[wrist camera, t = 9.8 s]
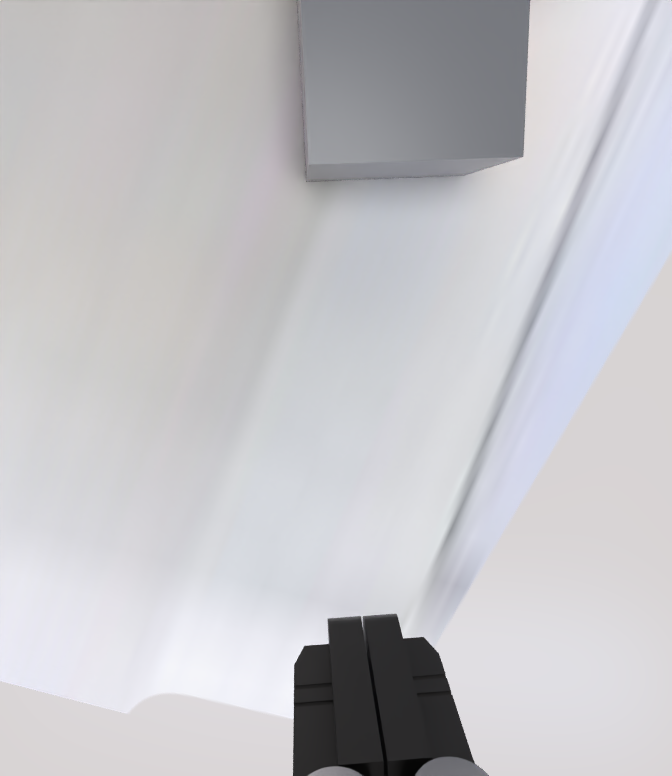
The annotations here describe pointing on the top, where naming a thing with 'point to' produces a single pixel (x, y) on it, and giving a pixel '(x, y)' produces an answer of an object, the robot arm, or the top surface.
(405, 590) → the top surface
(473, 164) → the block
